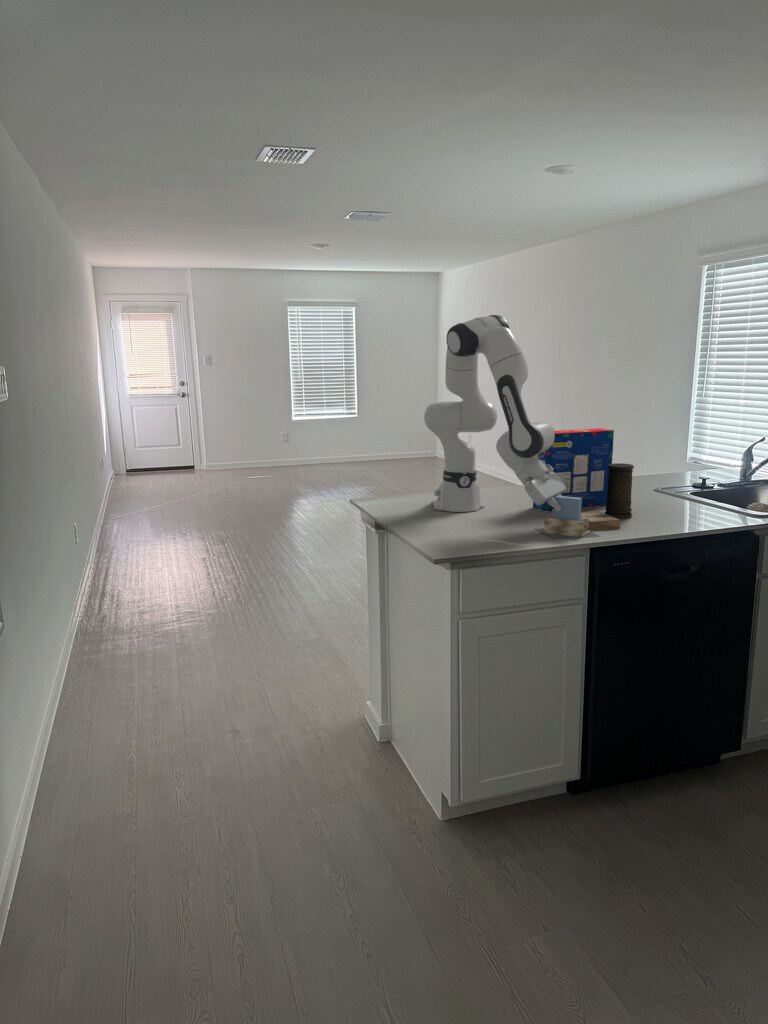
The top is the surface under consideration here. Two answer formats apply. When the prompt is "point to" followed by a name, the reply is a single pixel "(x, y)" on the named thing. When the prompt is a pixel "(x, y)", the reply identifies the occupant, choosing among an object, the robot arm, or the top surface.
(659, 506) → the top surface
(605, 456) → the blue cardboard box
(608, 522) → the brown flat block
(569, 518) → the light blue square slab
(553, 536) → the mat
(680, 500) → the top surface
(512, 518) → the top surface
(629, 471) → the container
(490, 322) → the robot arm
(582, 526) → the mottled beige block
